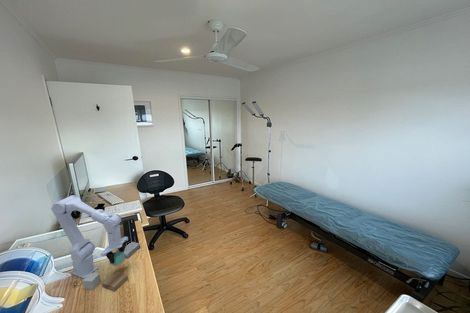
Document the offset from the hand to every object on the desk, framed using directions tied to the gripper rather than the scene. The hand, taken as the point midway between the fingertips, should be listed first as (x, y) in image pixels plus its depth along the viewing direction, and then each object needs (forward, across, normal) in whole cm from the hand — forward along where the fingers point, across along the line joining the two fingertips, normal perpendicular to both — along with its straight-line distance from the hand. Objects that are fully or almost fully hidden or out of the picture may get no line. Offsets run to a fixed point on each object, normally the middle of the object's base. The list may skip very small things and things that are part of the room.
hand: (116, 259), depth 103 cm
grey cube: (+9, -10, +5) cm, 15 cm away
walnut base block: (+9, -6, -5) cm, 11 cm away
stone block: (+9, +15, +9) cm, 20 cm away
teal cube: (+2, 0, 0) cm, 2 cm away
